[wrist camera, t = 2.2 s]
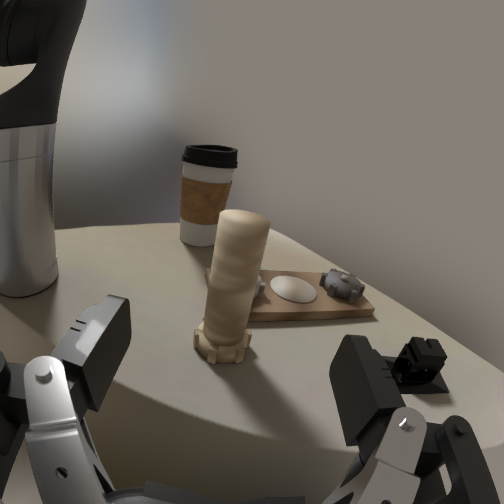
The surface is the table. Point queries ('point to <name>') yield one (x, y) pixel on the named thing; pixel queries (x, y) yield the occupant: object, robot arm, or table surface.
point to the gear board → (306, 296)
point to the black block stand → (419, 367)
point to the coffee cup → (204, 191)
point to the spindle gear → (232, 286)
